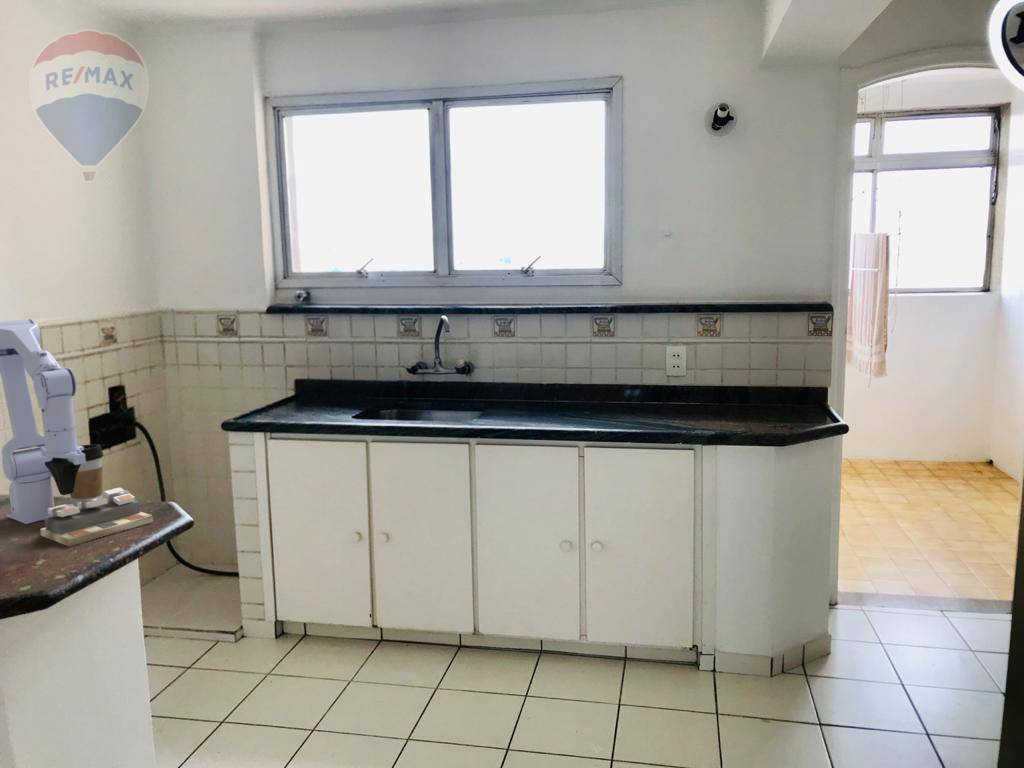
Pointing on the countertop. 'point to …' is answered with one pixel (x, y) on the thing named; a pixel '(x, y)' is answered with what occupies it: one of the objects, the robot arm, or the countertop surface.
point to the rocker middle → (92, 503)
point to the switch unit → (94, 523)
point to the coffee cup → (89, 475)
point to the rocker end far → (119, 496)
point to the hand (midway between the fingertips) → (66, 493)
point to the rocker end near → (63, 510)
